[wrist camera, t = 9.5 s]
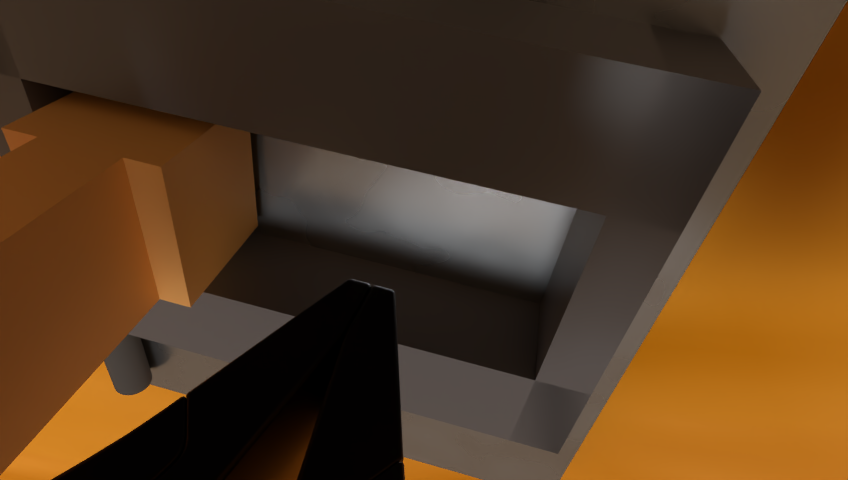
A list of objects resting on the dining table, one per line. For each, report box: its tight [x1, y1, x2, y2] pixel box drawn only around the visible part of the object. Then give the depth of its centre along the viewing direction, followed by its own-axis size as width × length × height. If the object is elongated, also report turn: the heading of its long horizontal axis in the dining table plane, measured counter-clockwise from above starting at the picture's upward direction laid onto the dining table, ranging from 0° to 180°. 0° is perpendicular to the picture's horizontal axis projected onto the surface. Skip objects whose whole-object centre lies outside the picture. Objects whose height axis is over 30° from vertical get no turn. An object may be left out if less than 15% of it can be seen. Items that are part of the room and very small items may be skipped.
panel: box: [141, 0, 848, 480], centre depth 13 cm, size 16×22×1 cm
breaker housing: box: [0, 0, 761, 454], centre depth 12 cm, size 13×12×2 cm
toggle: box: [0, 91, 258, 475], centre depth 10 cm, size 3×3×7 cm
